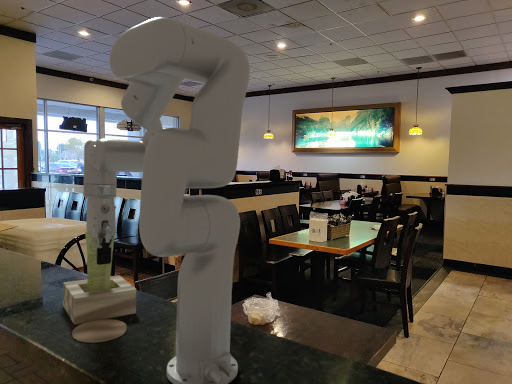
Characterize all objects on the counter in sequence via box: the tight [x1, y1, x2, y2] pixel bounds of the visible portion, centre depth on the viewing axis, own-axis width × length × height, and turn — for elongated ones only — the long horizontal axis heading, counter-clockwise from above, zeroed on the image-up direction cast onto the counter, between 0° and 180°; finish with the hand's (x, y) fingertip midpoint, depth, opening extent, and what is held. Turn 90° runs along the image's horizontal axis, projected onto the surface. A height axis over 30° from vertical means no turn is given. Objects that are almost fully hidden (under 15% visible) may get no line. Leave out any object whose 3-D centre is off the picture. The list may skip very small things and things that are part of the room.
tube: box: [84, 230, 116, 292], centre depth 97 cm, size 6×5×20 cm
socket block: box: [62, 275, 137, 326], centre depth 97 cm, size 14×14×6 cm
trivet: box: [71, 318, 128, 344], centre depth 84 cm, size 11×11×1 cm
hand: (98, 259), depth 97 cm, fingers open, 9 cm apart
